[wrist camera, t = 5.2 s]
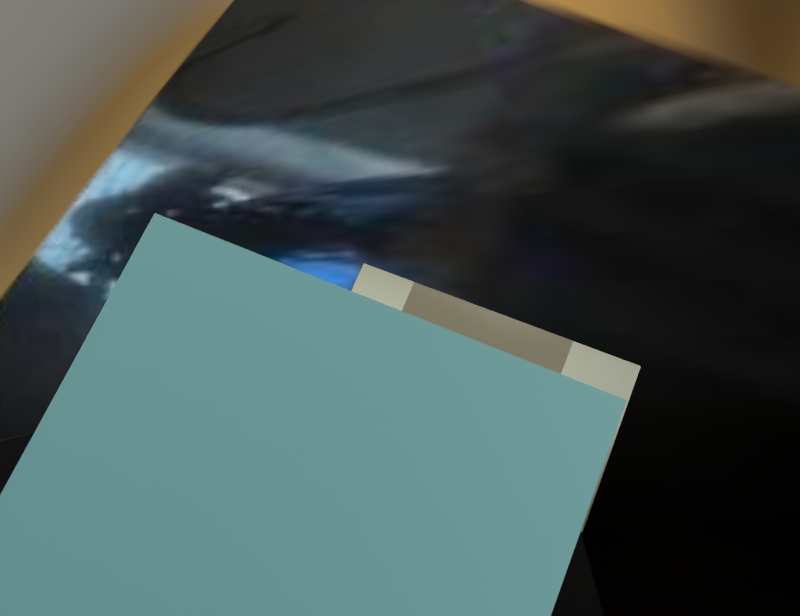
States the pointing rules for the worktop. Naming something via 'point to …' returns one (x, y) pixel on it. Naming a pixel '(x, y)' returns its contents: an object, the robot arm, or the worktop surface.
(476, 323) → the socket block
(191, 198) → the worktop surface
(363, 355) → the post
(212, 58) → the worktop surface
